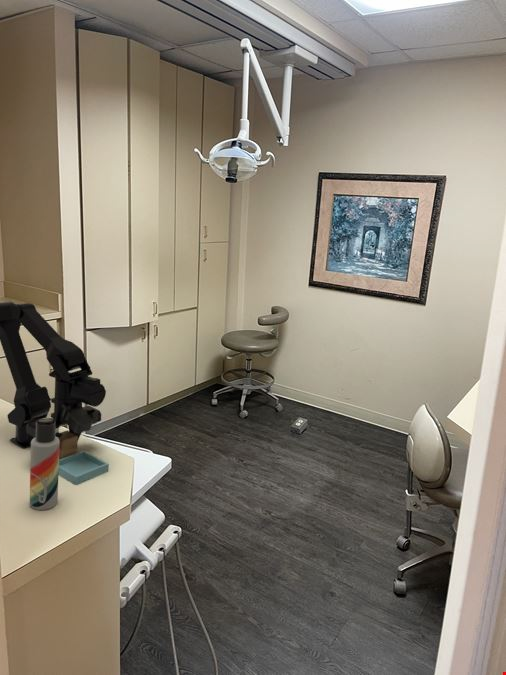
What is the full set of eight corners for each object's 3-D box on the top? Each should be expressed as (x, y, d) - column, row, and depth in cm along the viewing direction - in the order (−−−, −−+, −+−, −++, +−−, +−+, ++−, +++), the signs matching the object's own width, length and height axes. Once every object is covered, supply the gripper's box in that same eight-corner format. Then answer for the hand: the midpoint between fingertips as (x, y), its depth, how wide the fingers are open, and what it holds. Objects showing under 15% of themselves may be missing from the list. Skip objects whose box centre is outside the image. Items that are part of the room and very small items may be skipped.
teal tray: (51, 469, 124) (51, 462, 123) (84, 457, 132) (84, 450, 131) (75, 484, 119) (75, 477, 118) (108, 470, 127) (108, 463, 126)
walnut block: (51, 456, 130) (52, 435, 129) (66, 451, 134) (67, 430, 133) (62, 462, 128) (62, 441, 127) (77, 456, 132) (78, 435, 130)
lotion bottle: (29, 512, 107) (31, 425, 102) (29, 497, 112) (31, 414, 107) (58, 508, 109) (61, 423, 104) (56, 494, 114) (59, 413, 109)
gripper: (53, 414, 115) (51, 475, 119) (116, 397, 130) (113, 451, 134) (25, 400, 121) (24, 459, 125) (89, 385, 136) (86, 437, 140)
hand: (64, 451), depth 131 cm, fingers closed on walnut block, 4 cm apart
